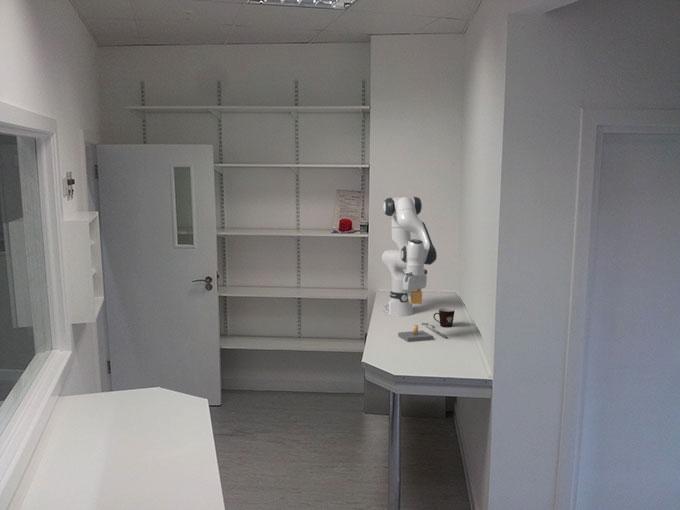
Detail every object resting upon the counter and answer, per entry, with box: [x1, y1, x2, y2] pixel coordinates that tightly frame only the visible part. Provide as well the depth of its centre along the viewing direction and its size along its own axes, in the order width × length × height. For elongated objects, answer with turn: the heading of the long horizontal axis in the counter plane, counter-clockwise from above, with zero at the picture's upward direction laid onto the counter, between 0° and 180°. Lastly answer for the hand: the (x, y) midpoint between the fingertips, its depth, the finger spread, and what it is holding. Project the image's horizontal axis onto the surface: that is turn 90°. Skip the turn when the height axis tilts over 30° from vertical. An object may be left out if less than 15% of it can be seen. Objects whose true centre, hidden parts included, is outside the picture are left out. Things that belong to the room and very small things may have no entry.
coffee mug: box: [433, 307, 455, 328], centre depth 325 cm, size 12×9×10 cm
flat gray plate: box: [397, 324, 434, 343], centre depth 301 cm, size 12×14×6 cm
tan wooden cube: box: [409, 290, 423, 305], centre depth 300 cm, size 6×6×6 cm
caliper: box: [421, 322, 448, 339], centre depth 315 cm, size 29×2×5 cm
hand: (413, 298), depth 301 cm, fingers closed on tan wooden cube, 7 cm apart
